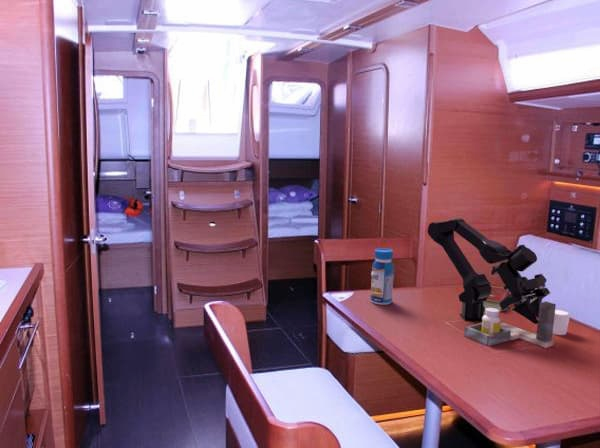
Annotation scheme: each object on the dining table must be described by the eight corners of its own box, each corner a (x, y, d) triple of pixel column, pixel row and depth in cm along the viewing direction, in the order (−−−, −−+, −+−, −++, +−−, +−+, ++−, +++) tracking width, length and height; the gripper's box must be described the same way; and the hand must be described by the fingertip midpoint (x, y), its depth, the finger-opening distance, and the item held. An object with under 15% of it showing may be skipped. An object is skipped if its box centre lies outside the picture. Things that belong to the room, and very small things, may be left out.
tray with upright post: (464, 335, 173) (467, 296, 170) (500, 326, 182) (503, 288, 180) (517, 357, 157) (521, 314, 155) (553, 345, 167) (557, 304, 165)
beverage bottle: (394, 305, 201) (397, 252, 198) (371, 305, 201) (373, 252, 198) (390, 298, 210) (393, 247, 206) (368, 298, 210) (371, 247, 206)
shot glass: (570, 337, 175) (573, 316, 173) (547, 335, 176) (550, 314, 175) (564, 329, 181) (567, 309, 180) (542, 327, 183) (545, 307, 181)
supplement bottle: (498, 337, 172) (501, 308, 171) (499, 344, 167) (501, 313, 166) (480, 335, 174) (483, 306, 172) (480, 341, 169) (483, 311, 167)
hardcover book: (509, 298, 216) (510, 288, 215) (501, 313, 198) (502, 302, 197) (477, 293, 221) (478, 283, 221) (467, 307, 203) (468, 296, 202)
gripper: (511, 269, 164) (541, 315, 157) (547, 262, 174) (577, 305, 167) (487, 288, 172) (514, 332, 165) (523, 280, 182) (550, 322, 175)
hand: (540, 322), depth 168 cm, fingers closed on tray with upright post, 3 cm apart
